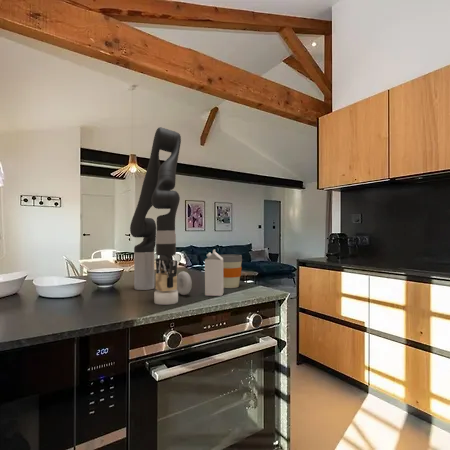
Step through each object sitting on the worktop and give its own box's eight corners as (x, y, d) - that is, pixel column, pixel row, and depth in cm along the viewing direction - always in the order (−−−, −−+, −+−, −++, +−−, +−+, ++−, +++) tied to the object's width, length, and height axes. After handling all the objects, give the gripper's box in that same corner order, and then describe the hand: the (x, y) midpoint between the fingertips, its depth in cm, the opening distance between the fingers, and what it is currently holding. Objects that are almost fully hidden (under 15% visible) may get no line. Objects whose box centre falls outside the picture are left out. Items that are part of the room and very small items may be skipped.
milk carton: (223, 292, 148) (223, 249, 148) (221, 296, 141) (221, 250, 141) (207, 292, 148) (207, 249, 149) (204, 296, 141) (204, 250, 142)
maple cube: (155, 289, 131) (155, 273, 131) (169, 287, 134) (169, 272, 134) (162, 291, 126) (162, 275, 126) (176, 289, 130) (176, 273, 130)
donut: (193, 296, 141) (193, 272, 141) (186, 297, 139) (186, 272, 139) (181, 292, 149) (180, 269, 149) (174, 293, 147) (173, 270, 147)
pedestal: (150, 301, 131) (150, 291, 131) (171, 298, 136) (171, 288, 136) (160, 305, 124) (160, 294, 124) (182, 302, 129) (182, 291, 129)
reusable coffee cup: (214, 288, 159) (214, 256, 159) (219, 284, 171) (218, 254, 172) (240, 289, 157) (240, 256, 157) (243, 284, 169) (243, 254, 170)
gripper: (183, 242, 127) (184, 288, 127) (166, 241, 138) (166, 283, 138) (165, 243, 122) (165, 290, 122) (149, 242, 134) (149, 285, 134)
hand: (166, 286), depth 130 cm, fingers closed on maple cube, 6 cm apart
